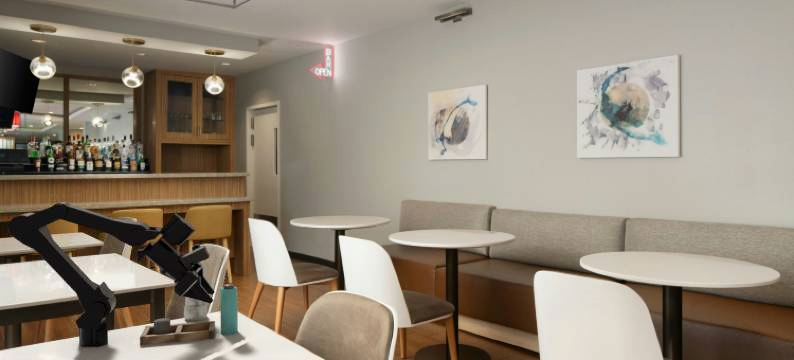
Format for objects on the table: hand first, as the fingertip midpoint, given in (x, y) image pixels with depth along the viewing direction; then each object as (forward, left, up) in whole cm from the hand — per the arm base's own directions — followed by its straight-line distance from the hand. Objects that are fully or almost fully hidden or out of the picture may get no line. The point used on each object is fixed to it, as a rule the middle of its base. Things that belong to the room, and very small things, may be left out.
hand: (212, 297), depth 150 cm
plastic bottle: (-15, +9, -11) cm, 20 cm away
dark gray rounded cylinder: (-10, -8, -10) cm, 16 cm away
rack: (-7, -6, -11) cm, 14 cm away
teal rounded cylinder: (+3, +3, -11) cm, 11 cm away
